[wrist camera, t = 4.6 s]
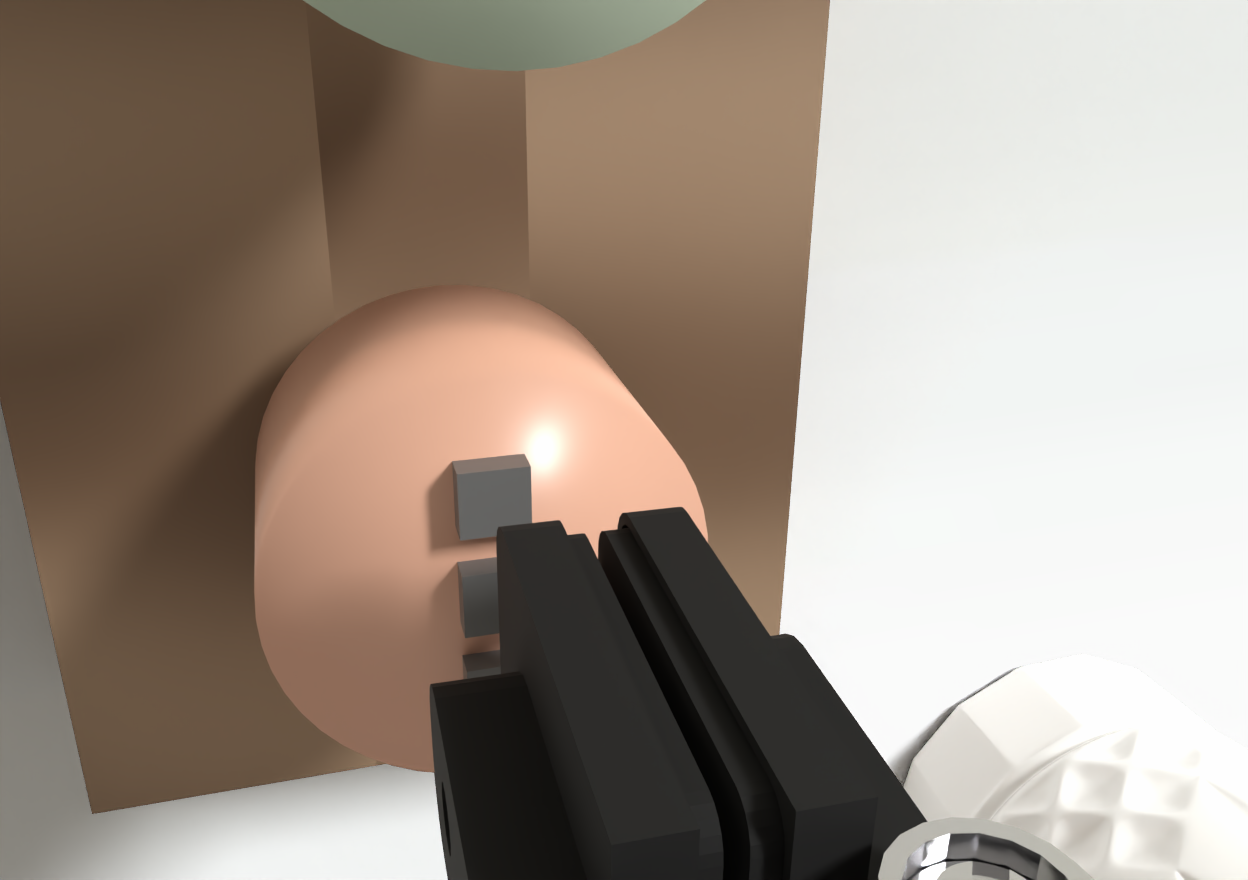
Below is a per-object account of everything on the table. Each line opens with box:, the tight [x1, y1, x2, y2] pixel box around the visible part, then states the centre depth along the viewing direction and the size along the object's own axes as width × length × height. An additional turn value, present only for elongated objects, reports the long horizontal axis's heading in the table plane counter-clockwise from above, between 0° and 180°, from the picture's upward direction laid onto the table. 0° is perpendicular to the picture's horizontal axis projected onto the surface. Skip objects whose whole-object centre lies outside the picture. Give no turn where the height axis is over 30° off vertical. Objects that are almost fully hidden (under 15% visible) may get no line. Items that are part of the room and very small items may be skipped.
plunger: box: [254, 285, 708, 772], centre depth 14 cm, size 5×5×7 cm
